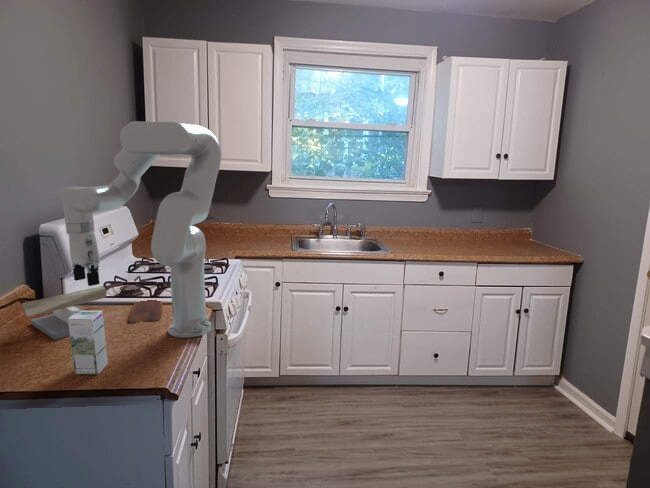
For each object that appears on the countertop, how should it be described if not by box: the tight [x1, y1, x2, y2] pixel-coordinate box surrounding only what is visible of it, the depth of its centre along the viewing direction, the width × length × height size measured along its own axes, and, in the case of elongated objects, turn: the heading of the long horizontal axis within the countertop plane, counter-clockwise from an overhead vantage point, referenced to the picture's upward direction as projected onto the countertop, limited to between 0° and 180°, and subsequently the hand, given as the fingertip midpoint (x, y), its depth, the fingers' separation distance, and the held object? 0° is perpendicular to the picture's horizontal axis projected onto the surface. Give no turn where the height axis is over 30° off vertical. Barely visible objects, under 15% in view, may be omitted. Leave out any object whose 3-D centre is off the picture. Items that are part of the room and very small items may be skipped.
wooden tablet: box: [127, 300, 163, 325], centre depth 151 cm, size 27×10×2 cm, turn 18°
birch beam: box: [22, 285, 107, 317], centre depth 133 cm, size 3×22×3 cm, turn 141°
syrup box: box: [68, 310, 108, 376], centre depth 106 cm, size 6×6×14 cm
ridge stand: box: [30, 305, 105, 341], centre depth 135 cm, size 18×14×6 cm
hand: (86, 282), depth 137 cm, fingers open, 9 cm apart
